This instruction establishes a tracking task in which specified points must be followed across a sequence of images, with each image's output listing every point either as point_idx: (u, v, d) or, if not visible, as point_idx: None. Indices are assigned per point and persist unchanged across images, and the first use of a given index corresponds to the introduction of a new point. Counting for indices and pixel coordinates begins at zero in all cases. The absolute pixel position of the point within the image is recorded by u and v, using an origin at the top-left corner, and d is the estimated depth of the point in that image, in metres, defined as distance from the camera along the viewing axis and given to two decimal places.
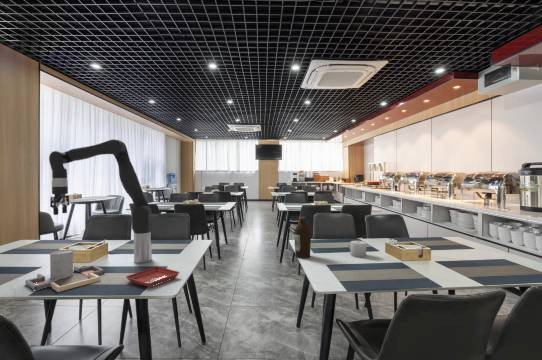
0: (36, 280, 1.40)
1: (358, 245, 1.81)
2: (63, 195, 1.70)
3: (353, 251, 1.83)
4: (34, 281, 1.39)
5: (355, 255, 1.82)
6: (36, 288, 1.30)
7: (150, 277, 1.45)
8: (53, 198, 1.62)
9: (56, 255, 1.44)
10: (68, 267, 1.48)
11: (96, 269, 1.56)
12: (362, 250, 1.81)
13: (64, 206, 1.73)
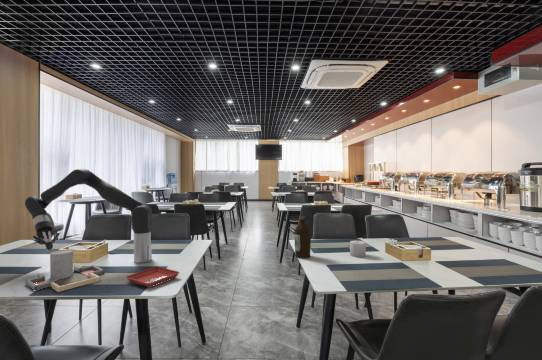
0: (36, 280, 1.40)
1: (358, 245, 1.82)
2: (48, 230, 1.65)
3: (352, 251, 1.84)
4: (34, 281, 1.39)
5: (355, 255, 1.82)
6: (36, 288, 1.30)
7: (150, 277, 1.45)
8: (33, 238, 1.59)
9: (56, 255, 1.44)
10: (68, 267, 1.48)
11: (96, 269, 1.56)
12: (361, 249, 1.82)
13: None
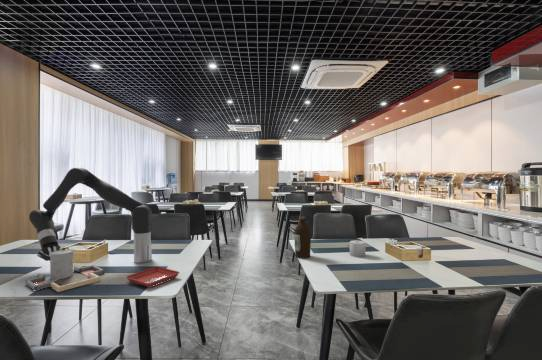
0: (36, 280, 1.40)
1: (357, 245, 1.82)
2: (53, 245, 1.60)
3: (352, 250, 1.84)
4: (34, 281, 1.39)
5: (354, 255, 1.83)
6: (36, 288, 1.30)
7: (150, 277, 1.45)
8: (38, 254, 1.53)
9: (56, 255, 1.44)
10: (68, 267, 1.48)
11: (96, 269, 1.56)
12: (361, 249, 1.82)
13: None
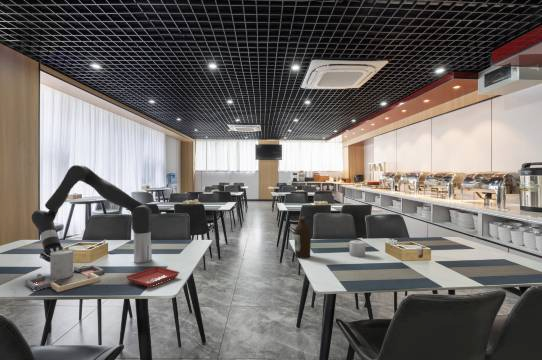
0: (36, 280, 1.40)
1: (357, 245, 1.82)
2: (56, 246, 1.58)
3: (352, 250, 1.84)
4: (34, 281, 1.39)
5: (354, 255, 1.83)
6: (36, 288, 1.30)
7: (150, 277, 1.45)
8: (41, 256, 1.51)
9: (56, 255, 1.44)
10: (68, 267, 1.47)
11: (96, 269, 1.56)
12: (361, 249, 1.82)
13: None
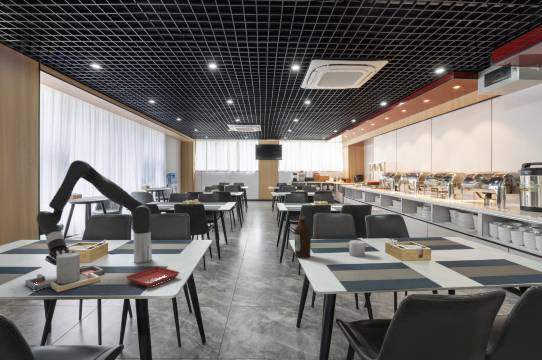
0: (36, 280, 1.40)
1: (357, 244, 1.83)
2: (62, 249, 1.52)
3: (352, 250, 1.85)
4: (34, 281, 1.39)
5: (354, 254, 1.83)
6: (36, 288, 1.30)
7: (150, 277, 1.45)
8: (47, 259, 1.45)
9: (63, 258, 1.39)
10: (75, 271, 1.42)
11: (96, 269, 1.56)
12: (360, 249, 1.82)
13: None
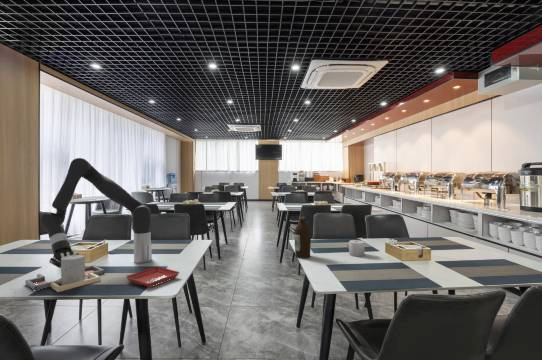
0: (36, 280, 1.40)
1: (357, 244, 1.83)
2: (66, 251, 1.48)
3: (351, 250, 1.85)
4: (34, 281, 1.39)
5: (354, 254, 1.84)
6: (36, 288, 1.30)
7: (150, 277, 1.45)
8: (51, 261, 1.41)
9: (67, 261, 1.35)
10: (80, 274, 1.38)
11: (96, 269, 1.56)
12: (360, 249, 1.83)
13: None
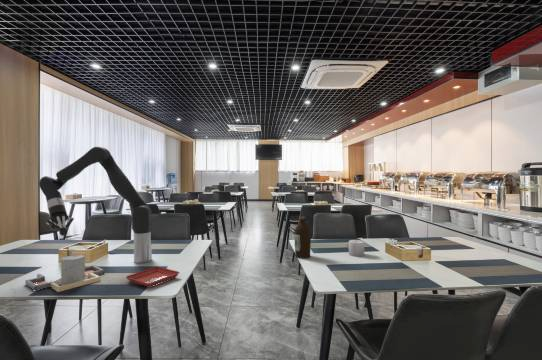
0: (36, 280, 1.40)
1: (356, 244, 1.83)
2: (62, 215, 1.60)
3: (351, 250, 1.85)
4: (34, 281, 1.39)
5: (353, 254, 1.84)
6: (36, 288, 1.30)
7: (150, 277, 1.45)
8: (47, 223, 1.53)
9: (67, 261, 1.35)
10: (80, 274, 1.38)
11: (96, 269, 1.56)
12: (360, 249, 1.83)
13: (62, 227, 1.57)
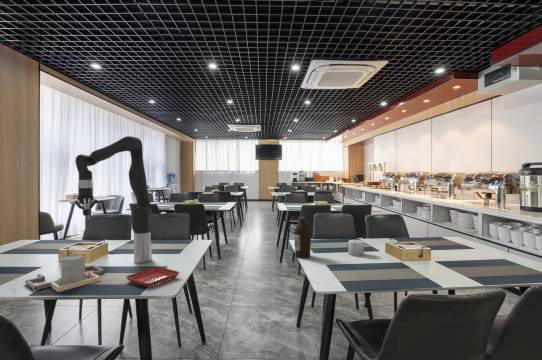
0: (36, 280, 1.40)
1: (356, 244, 1.84)
2: (88, 196, 1.78)
3: (351, 250, 1.86)
4: (34, 281, 1.39)
5: (353, 254, 1.85)
6: (36, 288, 1.30)
7: (150, 277, 1.45)
8: (75, 203, 1.73)
9: (67, 261, 1.35)
10: (80, 274, 1.38)
11: (96, 269, 1.56)
12: (359, 249, 1.84)
13: None
